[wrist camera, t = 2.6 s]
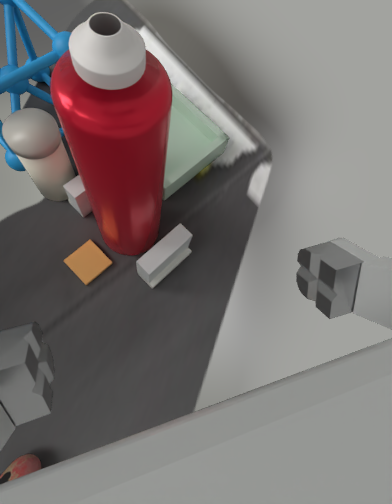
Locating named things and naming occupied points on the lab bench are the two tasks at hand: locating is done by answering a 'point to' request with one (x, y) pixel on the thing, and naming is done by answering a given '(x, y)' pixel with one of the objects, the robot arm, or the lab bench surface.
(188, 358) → the lab bench surface
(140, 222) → the bottle
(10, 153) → the molecular structure
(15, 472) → the screwdriver
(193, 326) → the lab bench surface
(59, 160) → the assorted small pieces
